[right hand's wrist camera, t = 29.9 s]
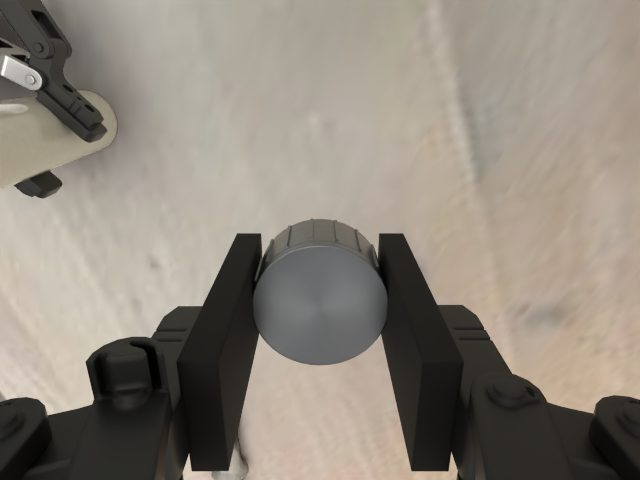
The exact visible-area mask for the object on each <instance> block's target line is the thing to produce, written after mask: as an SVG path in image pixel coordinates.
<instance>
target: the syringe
mask: <svg viewBox="0 0 640 480" xmlns="http://www.w3.org/2000/svg"><path fill="white" fill-rule="evenodd" d="M248 470H249V468H248V464H247V462H246V461H243V460H242V458H241V454H240V446H239V440H238V431H237V436H236V440H235V445H234V449H233V454H232V458H231V463H230V467H229V471H212V478H213V479H214V480H242V479H243V478H244V477H245V476H246V475H247V473H248Z"/></svg>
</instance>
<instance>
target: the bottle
mask: <svg viewBox="0 0 640 480" xmlns="http://www.w3.org/2000/svg"><path fill="white" fill-rule="evenodd" d="M77 91H78V92H79V93H80V94H81V95H82V96H83V97H84V98H85V99H86V100H88V101H89V102H90V103H91V104H92V105H93V106H94V107H95V108H97V109H98V110H99V111H100V113H101V115H102V116H103V118H104V120H103V121H102V124H103V125H104V126H105V127H106V128H107V132H106V134H105V135H104V136H103V137H102V138H101V139H100V140H98V141H95V142H92V143H88V142H86V141H84V140H82V139H81V138H80V137H79V136H78V135H76V134H75V133H74V132H73V131H72V130H71V129H70V128H68V127H67V126H66V125H65V124H64V123H63V122H62V121H60V120H59V119H58V118H57V117H56V116H55V115H54V114H53V113H52V112H51V111H49V110H48V109H47V108H46V107H44V106H43V105H42V104H41V103H40V102H39V101H38V100H36V99H35V98H36V97H37V95H36V96H28V97H20V98H12V99H4V100H0V190H3V189H5V188H8V187H10V186H13V185H15V184H18V183H20V182H23V181H25V180H28V179H30V178H32V177H35V176H37V175H40V174H42V173H45V172H47V171H50V170H52V169H55V168H57V167H59V166H62V165H64V164H67V163H69V162H72V161H74V160H77V159H79V158H82V157H84V156H87V155H89V154H91V153H94V152H96V151H99V150H101V149H104V148H106V147H107V146H108V145H110V144H111V143H112V141H113V140H114V138H115V136H116V132H117V120H116V116H115V114H114V111H113V109H112V108H111V106H110V105H109V104H108V103H107V101H106V100H104V99H103V98H102V97H101V96H99V95H98V94H96V93H93V92H91V91H87V90H77Z"/></svg>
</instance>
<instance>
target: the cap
mask: <svg viewBox="0 0 640 480" xmlns="http://www.w3.org/2000/svg"><path fill="white" fill-rule="evenodd" d="M254 282H255V287H254V290H253V314H254V323H255V325H256V327H257V330H258V331H259V333H260V335H261V336H262V338H263V339H264V340H265V341H266V343H267V344H268V345H270V346H271V347H272V348H273V349H274V350H275V351H277V352H278V353H279V354H281V355H283V356H285V357H287V358H289V359H291V360H294V361H297V362H300V363H304V364H310V365H330V364H337V363H340V362H344V361H347V360H349V359H352V358H354V357H356V356H358V355H359V354H361V353H362V352H364V351H365V350H367V349H368V348H369V347H370V346H371V345H372V344H373V343H374V342H375V341H376V340H377V338H378V337H379V335H380V334H381V332H382V330H383V328H384V326H385V324H386V318H387V302H388V292H387V289H386V286H385V282H384V279H383V275H382V272H381V268H380V265H379V262H378V258H377V255H376V252H375V249H374V246H373V244H372V245H371V244H370V243H369V242H368V240H367V239H366V238H365V237H364V236H363V235H362V234H361V233H359V231H358V230H357V229H354V228H352V227H350V226H348V225H346V224H343V223H340V222H337V220H334V221H333V220H325V219H315V220H313V219H310V220H308V221H303V222H300V223H297V224H295V225H292V226H291V225H290V226H288V228H287V229H285V230H284V231H282V232H281V233H280V234H279V235H277V236H276V238H275V239H274V240H273V239H272V240H271V241H270V245H269V246H268V248H267V250H266V252H265V254H264V256H263V258H262V257H261V259H260V263H259V266H258V269H257V273H256V276H255V279H254Z"/></svg>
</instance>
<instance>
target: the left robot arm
mask: <svg viewBox="0 0 640 480" xmlns="http://www.w3.org/2000/svg"><path fill="white" fill-rule="evenodd" d="M0 11H1V12H2V13H3V15H4V16H5V18H6V19H7V20H8V22H9V23H10V25H11V26H12V27H13V29H14V30H15V32H16V33H17V34H18V36H19V37H20V39H21V40H22V42H23V43H24V44H25V46H26V47H27V49H28V50H29V51H30V53H31V54H30V53H29V52H28V51H26V50H24V49H22V48H20V47H18V46H16V45H14V44H12V43H10V42H8V41H7V40H5V39H3V38H1V37H0V75H1V76H3V77H5V78H7V79H9V80H11V81H13V82H15V83H17V84H19V85H21V86H23V87H25V88H27V89H29V90H33V91H36V92H37V93H38V95H37V97H36V98H35V99H36V100H38V101H39V102H40V103H41V104H42V105H43V106H44V107H46V108H47V109H48V110H49V111H51V112H52V113H53V114H54V115H55V116H56V117H57V118H58V119H59V120H60V121H62V122H63V123H64V124H65V125H66V126H67V127H68V128H70V129H71V130H72V131H73V132H74V133H75V134H76V135H78V136H79V137H80V138H81V139H82V140H84V141H86V142H88V143H92V142H95V141H98V140H100V139H101V138H102V137H103V136H104V135H105V134H106V132H107V128H106V127H105V126H104V125H103V124H102V121H103V120H104V118H103V116H102V115H101V113H100V111H99V110H98V109H97V108H95V107H94V106H93V105H92V104H91V103H90V102H89V101H88V100H86V99H85V98H84V97H83V96H82V95H81V94H80V93H79V92H78V91H77V90H76V89H74V88H73V87H72V86H71V85H70V84H69V83H68V82H67V81H66V79H65V77H64V75H63V67H64V63H65V59H67V58H69V57H70V55H71V53H72V48H71V45H70V44H69V42H68V41H67V39H66V38H65V36H64V35H63V33H62V32H61V30H60V29H59V27H58V26H57V24H56V23H55V21H54V20H53V18H52V17H51V15H50V14H49V12H48V11H47V9H46V8H45V7H44V5H43V4H42V2H41V1H40V0H0ZM14 186H15V187H17V189H19V190H20V191H21V192H22V193H24V194H26V195H28V196H31V197H33V196H37V197H39V198H46V197H48V196H50V195H52V194H54V193H56V192H57V191H58V190H59V188H60V187H61V186H62V182H61V180H60V179H58V178H57V177H56V176H55V175H54V174H52V173H51V172H50V171H47V172H45V173H42V174H40V175H37V176H35V177H32V178H30V179H28V180H25V181H23V182H20V183H18V184H15V185H14Z"/></svg>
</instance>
